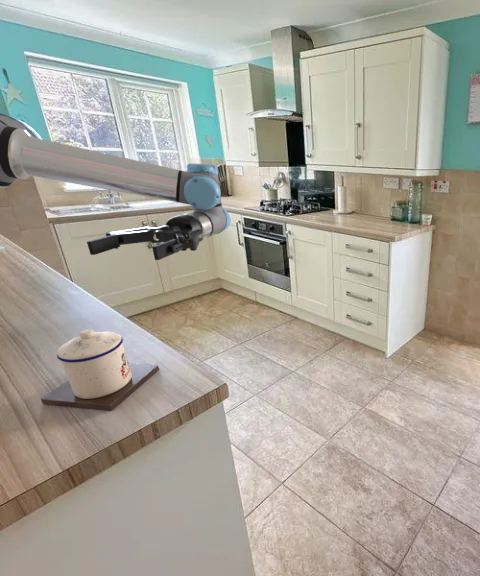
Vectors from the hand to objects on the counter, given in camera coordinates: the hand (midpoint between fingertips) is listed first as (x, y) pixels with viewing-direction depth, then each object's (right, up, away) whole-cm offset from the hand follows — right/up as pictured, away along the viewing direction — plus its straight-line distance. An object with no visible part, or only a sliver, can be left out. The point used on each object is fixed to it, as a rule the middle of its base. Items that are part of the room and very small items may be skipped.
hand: (122, 251), depth 65 cm
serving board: (-2, -27, -1) cm, 27 cm away
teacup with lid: (-2, -26, -2) cm, 26 cm away
